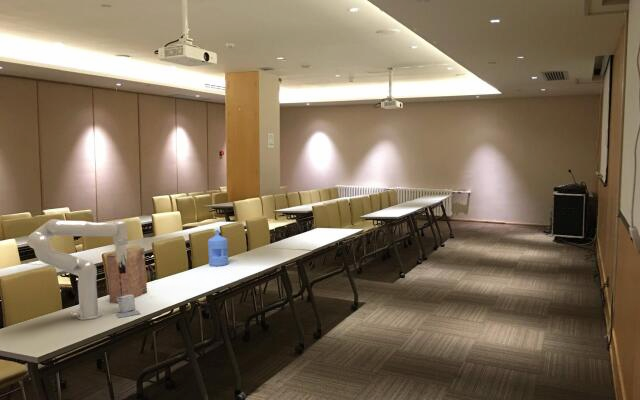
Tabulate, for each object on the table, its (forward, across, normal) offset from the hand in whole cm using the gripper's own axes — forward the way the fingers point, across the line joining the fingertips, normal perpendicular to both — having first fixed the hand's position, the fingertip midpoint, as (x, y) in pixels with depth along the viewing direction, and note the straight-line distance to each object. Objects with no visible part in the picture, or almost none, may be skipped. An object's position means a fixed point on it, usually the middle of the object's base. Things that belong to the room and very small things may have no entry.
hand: (122, 273), depth 305 cm
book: (+21, -24, +7) cm, 32 cm away
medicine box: (+21, +8, 0) cm, 22 cm away
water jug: (+21, -82, +89) cm, 123 cm away
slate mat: (+21, +14, -1) cm, 26 cm away
